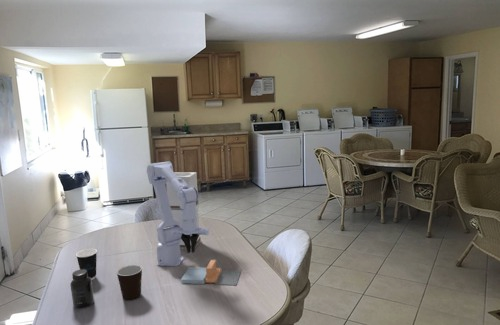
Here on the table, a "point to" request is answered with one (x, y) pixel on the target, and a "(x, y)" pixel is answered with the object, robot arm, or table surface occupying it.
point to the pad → (228, 277)
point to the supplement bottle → (81, 289)
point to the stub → (212, 272)
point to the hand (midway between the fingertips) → (191, 251)
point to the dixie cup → (87, 261)
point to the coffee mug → (130, 281)
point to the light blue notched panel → (195, 275)
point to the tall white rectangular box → (174, 203)
